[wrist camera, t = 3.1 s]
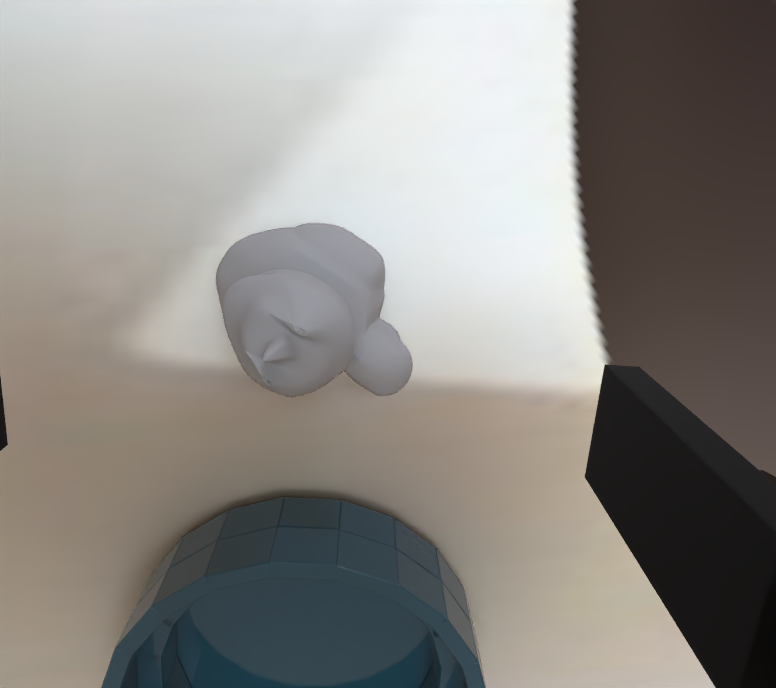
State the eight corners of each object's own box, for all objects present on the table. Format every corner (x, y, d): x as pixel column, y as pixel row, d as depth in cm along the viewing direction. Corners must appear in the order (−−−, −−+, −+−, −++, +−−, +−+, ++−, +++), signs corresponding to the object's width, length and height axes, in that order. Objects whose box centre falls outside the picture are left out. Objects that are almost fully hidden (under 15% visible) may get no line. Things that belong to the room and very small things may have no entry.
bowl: (135, 479, 25) (87, 553, 20) (488, 497, 25) (512, 572, 21) (149, 750, 29) (110, 860, 24) (452, 760, 29) (467, 868, 25)
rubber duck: (280, 174, 21) (231, 198, 14) (446, 285, 23) (485, 363, 15) (198, 310, 23) (111, 400, 15) (359, 407, 24) (355, 537, 16)
